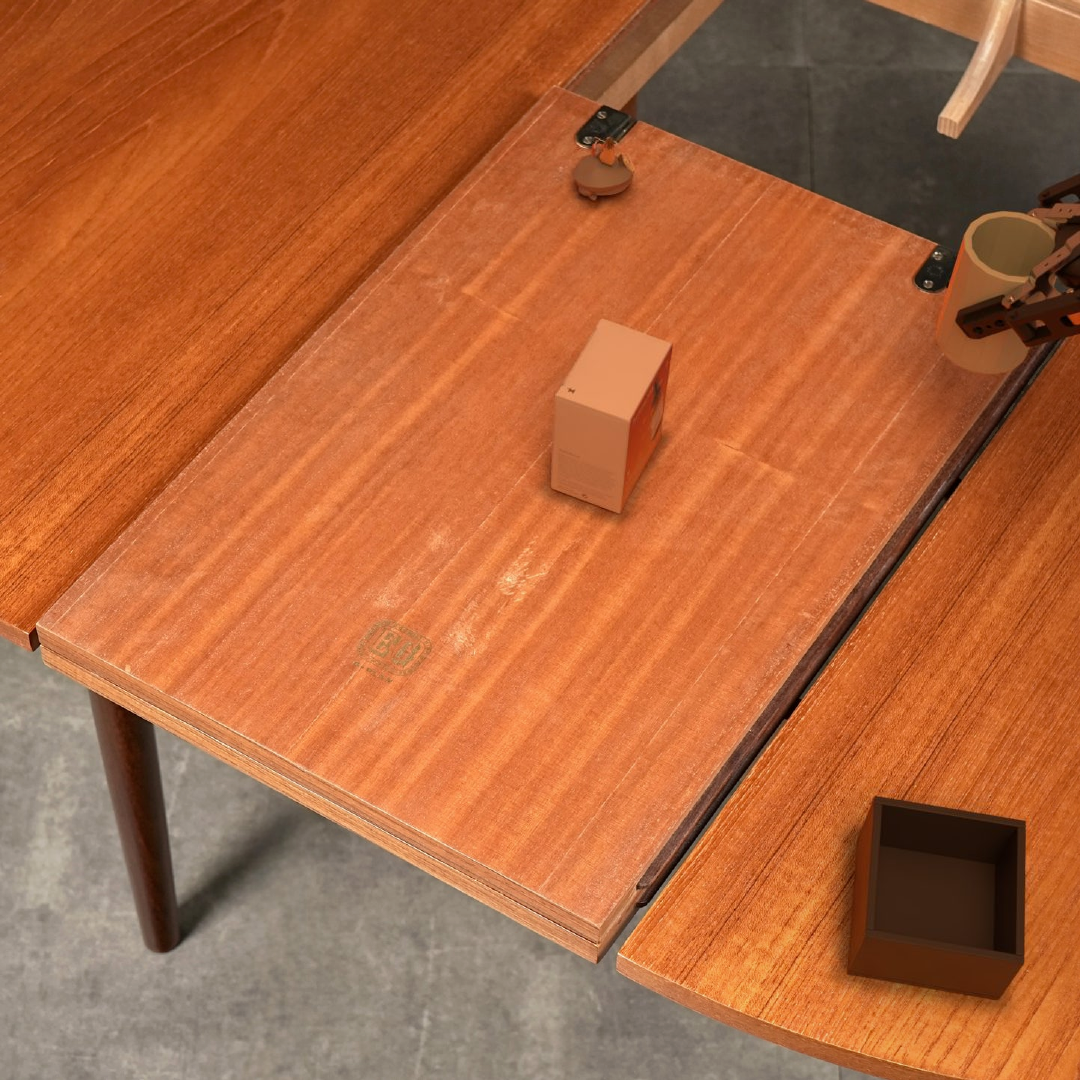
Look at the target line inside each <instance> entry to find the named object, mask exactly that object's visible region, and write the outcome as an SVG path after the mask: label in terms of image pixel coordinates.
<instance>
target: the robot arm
mask: <svg viewBox="0 0 1080 1080" xmlns="http://www.w3.org/2000/svg"><path fill="white" fill-rule="evenodd" d="M1070 195H1074V196H1076V197H1077V198H1078V200H1077V201H1075V202H1073V203H1065V202H1064V201H1063V199H1064V198H1065V197H1068V196H1070ZM1037 200H1038V202H1039V205H1038V206H1037V207H1036V208H1033V209H1031V210H1029V211H1028V212H1027V213H1025V214H1026V215H1029V216H1031V217H1034V218H1037V219H1039V220H1041V222H1042V223H1044V224H1046V225H1047V226H1049V227H1050V228H1052V229H1053V230H1054V231H1055V232H1056V234H1055V238H1054V241H1055V247H1054V249H1053V251H1052V253H1051V255H1050V256H1049V257H1048V258H1046V259H1045V260H1043V261H1042V262H1041V263H1039V264H1038V265H1036V266H1035V267H1034V268H1032V269H1031V271H1030V277H1029V279H1028V280H1027V281H1026V282H1025V283H1023V284H1021V285H1020V286H1018V287H1017V288H1016V289H1014V290H1013V291H1011V292H1010V293H1008V294H1007V295H1006V296H1004V294H1002V295H999V296H996V297H994V298H991V299H988V300H985V301H982V302H980V303H977V304H974V305H971V306H968V307H965V308H963V309H960V310H959V311H958V312H957V316H956V319H955V322H956V324H957V325H958V326H959V327H960V329H961V330H962V331H963V332H964V334H965V335H966V336H967V337H968V338H971V339H982V338H985V337H987V336H991V335H992V334H993V335H994V334H997V333H999V332H1002V331H1005V330H1008V329H1013V330H1014V331H1015V333H1016V334H1017V335H1018V336H1019V338H1020V339H1021V341H1022V342H1023V344H1024V345H1025V346H1026V347H1030V348H1032V347H1036V346H1040V345H1043V344H1047V343H1051V342H1054V341H1058V340H1063V339H1067V338H1070V337H1073V336H1077V335H1080V172H1079V173H1077V174H1075V175H1073V176H1071V177H1068V178H1066V179H1063V180H1061V181H1059V182H1057V183H1055V184H1052V185H1050V186H1048V187H1046V188H1044V189H1043V190H1042V191H1040V192H1039V193H1038V195H1037ZM1054 273H1055V274H1056V276H1057V279H1058V280H1059V281H1060V282H1061V284H1062V285H1063V286H1064V287H1066V288H1068V289H1067V290H1066V291H1064V292H1059V291H1058V290H1057V289H1056V288H1055V285H1054V286H1053V285H1052V284H1051V282H1050V277H1051V276H1052V275H1053V274H1054ZM1038 292H1041V293H1043V294H1044V296H1045V299H1044V300H1042V301H1039V302H1035V303H1032V304H1028V305H1027V303H1026V302H1025V301H1026V300H1027V299H1029V298H1030V297H1032V296H1033V295H1035V294H1036V293H1038ZM1041 322H1042V323H1043V325H1039V326H1038V327H1037V324H1038V323H1041Z"/></svg>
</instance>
